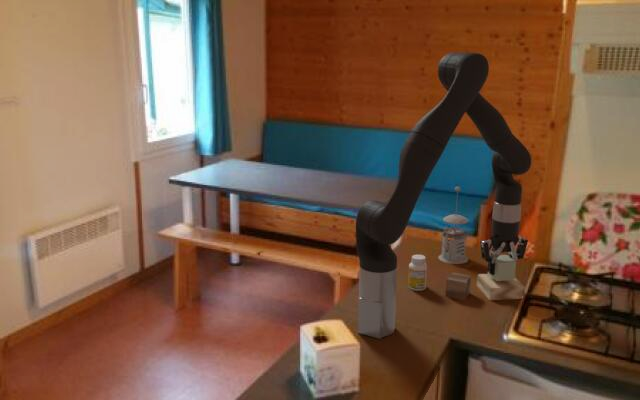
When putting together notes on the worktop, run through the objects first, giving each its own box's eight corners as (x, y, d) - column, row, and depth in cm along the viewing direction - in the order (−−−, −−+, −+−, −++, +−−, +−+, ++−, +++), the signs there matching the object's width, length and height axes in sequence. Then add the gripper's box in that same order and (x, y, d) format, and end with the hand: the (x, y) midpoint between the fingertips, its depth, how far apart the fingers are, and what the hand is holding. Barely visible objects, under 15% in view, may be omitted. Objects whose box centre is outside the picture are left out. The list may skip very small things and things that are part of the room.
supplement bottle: (413, 282, 173) (415, 252, 170) (429, 286, 170) (431, 256, 167) (404, 287, 169) (405, 257, 166) (420, 292, 166) (422, 261, 163)
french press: (473, 258, 192) (479, 186, 185) (455, 268, 183) (460, 193, 177) (447, 251, 198) (452, 181, 191) (429, 260, 190) (433, 187, 183)
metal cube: (464, 300, 161) (465, 282, 159) (445, 296, 163) (446, 278, 162) (469, 293, 165) (471, 276, 164) (451, 289, 168) (452, 272, 166)
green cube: (496, 281, 162) (498, 263, 160) (487, 273, 167) (489, 256, 165) (514, 279, 163) (516, 261, 161) (504, 272, 168) (506, 254, 166)
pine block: (489, 301, 161) (490, 288, 160) (476, 286, 171) (477, 274, 169) (523, 299, 162) (524, 286, 161) (508, 285, 172) (510, 272, 170)
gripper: (489, 223, 155) (484, 280, 160) (536, 219, 158) (530, 276, 162) (476, 215, 162) (472, 270, 167) (522, 212, 165) (516, 266, 170)
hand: (501, 272), depth 165 cm, fingers closed on green cube, 5 cm apart
